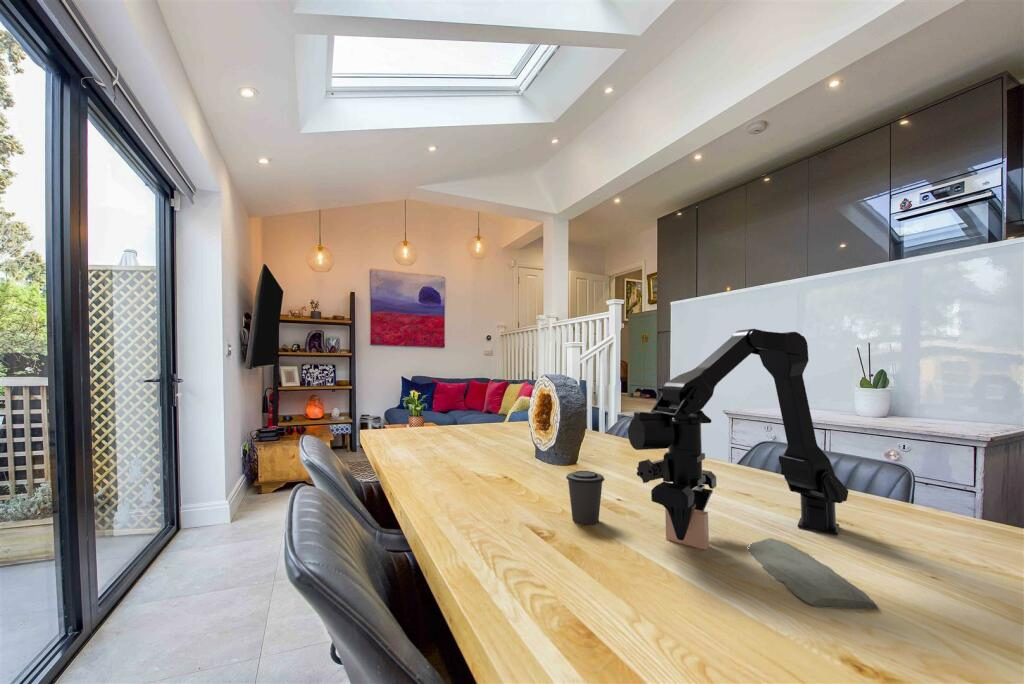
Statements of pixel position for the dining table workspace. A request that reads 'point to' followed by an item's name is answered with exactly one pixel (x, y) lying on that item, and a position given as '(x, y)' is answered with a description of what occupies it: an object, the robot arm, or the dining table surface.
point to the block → (691, 530)
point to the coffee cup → (585, 496)
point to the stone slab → (808, 576)
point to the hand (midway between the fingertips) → (686, 533)
